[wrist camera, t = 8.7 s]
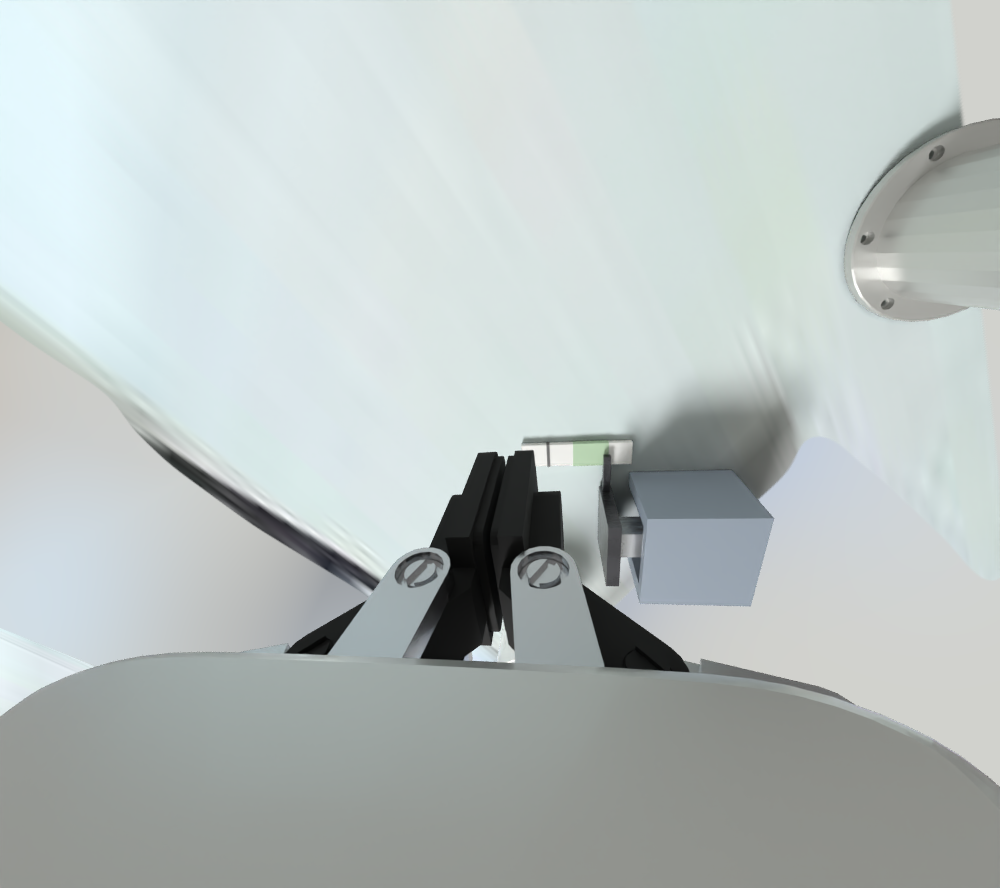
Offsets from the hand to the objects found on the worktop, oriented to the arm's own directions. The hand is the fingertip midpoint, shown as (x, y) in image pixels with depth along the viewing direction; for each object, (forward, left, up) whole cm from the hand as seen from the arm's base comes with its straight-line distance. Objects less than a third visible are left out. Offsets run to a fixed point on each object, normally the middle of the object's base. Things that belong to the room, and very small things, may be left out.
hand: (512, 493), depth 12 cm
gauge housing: (-8, +18, -26) cm, 32 cm away
